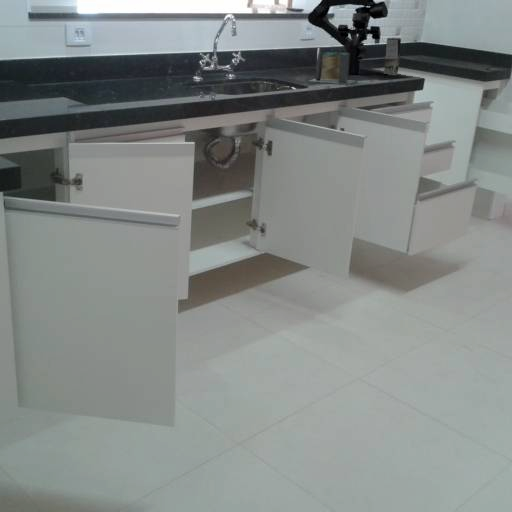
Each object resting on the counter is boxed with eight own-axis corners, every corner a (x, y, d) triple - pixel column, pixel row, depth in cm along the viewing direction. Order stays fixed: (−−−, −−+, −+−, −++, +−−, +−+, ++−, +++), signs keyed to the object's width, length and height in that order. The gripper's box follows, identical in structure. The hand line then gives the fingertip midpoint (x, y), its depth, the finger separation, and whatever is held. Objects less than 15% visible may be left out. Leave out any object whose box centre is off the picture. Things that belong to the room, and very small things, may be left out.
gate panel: (321, 79, 307) (323, 52, 302) (321, 79, 308) (322, 52, 304) (348, 79, 308) (349, 53, 304) (347, 79, 309) (349, 53, 305)
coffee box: (397, 75, 332) (401, 39, 326) (383, 74, 333) (386, 39, 327) (398, 73, 340) (401, 37, 334) (384, 72, 341) (387, 37, 335)
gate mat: (309, 81, 306) (309, 80, 306) (317, 78, 315) (317, 77, 315) (349, 85, 299) (349, 83, 299) (356, 81, 309) (356, 80, 309)
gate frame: (314, 81, 307) (316, 47, 301) (317, 81, 309) (318, 47, 303) (344, 84, 300) (347, 50, 295) (347, 84, 302) (349, 49, 297)
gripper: (340, 5, 317) (331, 32, 311) (381, 7, 310) (373, 35, 305) (343, 23, 327) (335, 50, 321) (384, 25, 320) (376, 52, 315)
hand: (354, 46), depth 315 cm, fingers closed
